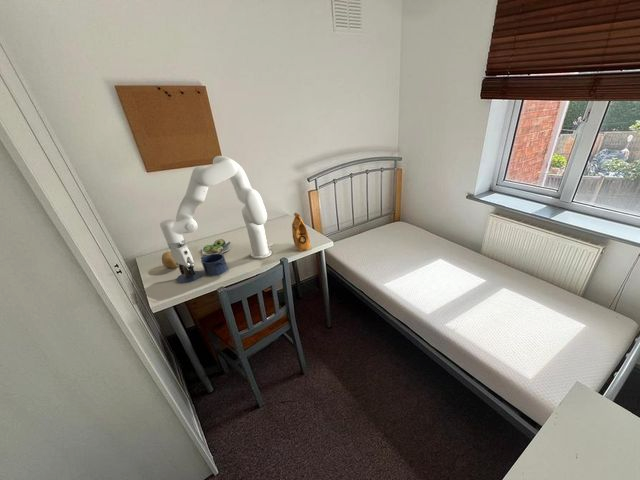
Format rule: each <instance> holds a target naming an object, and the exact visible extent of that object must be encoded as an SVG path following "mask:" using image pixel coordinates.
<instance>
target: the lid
mask: <svg viewBox="0 0 640 480" xmlns="http://www.w3.org/2000/svg"><path fill="white" fill-rule="evenodd" d="M189 266H190V265H188V267H189ZM182 268H183V271H184V273H185V274H181V273H180V275H178V276H177V277H176V282H178V283H179V284H188V283H193V282H195V281H197V280H199V279H200V278H201V277H202V276H203V273H202V271H200V270H194V272H195V275H193V276H191V277H189V274H188V272H187V270H188V269H187V268H186V266H183V267H182Z"/></svg>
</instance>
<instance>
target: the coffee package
mask: <svg viewBox="0 0 640 480" xmlns="http://www.w3.org/2000/svg"><path fill="white" fill-rule="evenodd" d="M293 216H294V218H293V221H292V223H291V230H292V232H291V233H292V239H293V244H294V246H295V248H296V249H297V250H298V251H299V252H304V251H309V250H311V240H310V236H309V232H308V230H307V228H306V225H305V223H304V221H303V219H302V217H301V215H300V214H299V213H297V212H294V213H293Z"/></svg>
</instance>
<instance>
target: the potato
mask: <svg viewBox="0 0 640 480" xmlns="http://www.w3.org/2000/svg"><path fill="white" fill-rule="evenodd" d="M161 263H162V265H163V266H164V267H167V268H171V269H174V268H175V269H176V268H179V267H178V265H177V264H176V263H175V261H174V260H173V257H172V254H171V251H165V252H164V253H163V254H162V256H161Z"/></svg>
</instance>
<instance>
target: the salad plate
mask: <svg viewBox="0 0 640 480" xmlns="http://www.w3.org/2000/svg"><path fill="white" fill-rule="evenodd" d="M231 243H232V242H231V241H228V242H227V241H226V240H224V239H223V238H219V239H216V240H215V241H214V243H210V244H206V245H203V246H202V247H201V253H202V255H203V256H208V255H211V254H222V255H224V254H225V253H226V252H228V251H229V250H230V249H231V246H230V245H231Z"/></svg>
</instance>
